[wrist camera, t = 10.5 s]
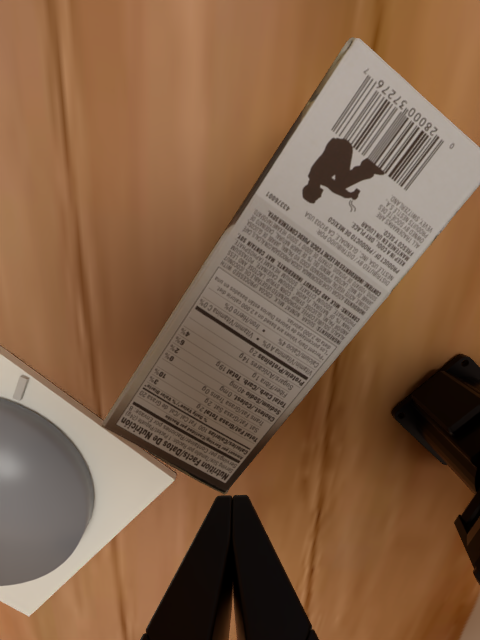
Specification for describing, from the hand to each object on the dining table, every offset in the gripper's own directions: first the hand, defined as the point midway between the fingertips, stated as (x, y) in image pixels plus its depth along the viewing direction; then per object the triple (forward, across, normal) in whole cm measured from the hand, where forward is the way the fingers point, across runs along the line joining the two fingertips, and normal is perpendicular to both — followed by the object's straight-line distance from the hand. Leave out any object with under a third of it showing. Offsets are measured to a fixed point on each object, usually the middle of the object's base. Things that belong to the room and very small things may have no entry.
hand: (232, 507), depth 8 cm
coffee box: (+8, -6, -11) cm, 15 cm away
